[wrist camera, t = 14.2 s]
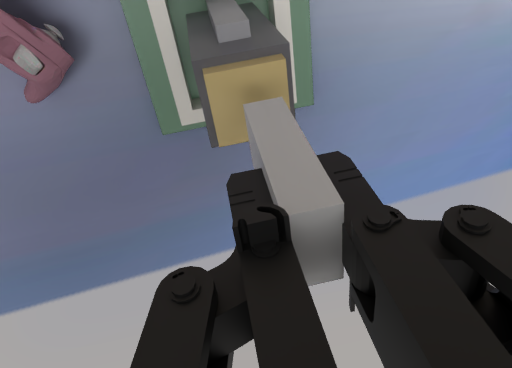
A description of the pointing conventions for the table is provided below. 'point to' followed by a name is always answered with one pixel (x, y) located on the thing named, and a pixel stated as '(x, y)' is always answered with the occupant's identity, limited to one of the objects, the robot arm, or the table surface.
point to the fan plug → (236, 66)
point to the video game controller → (33, 55)
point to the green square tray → (179, 59)
